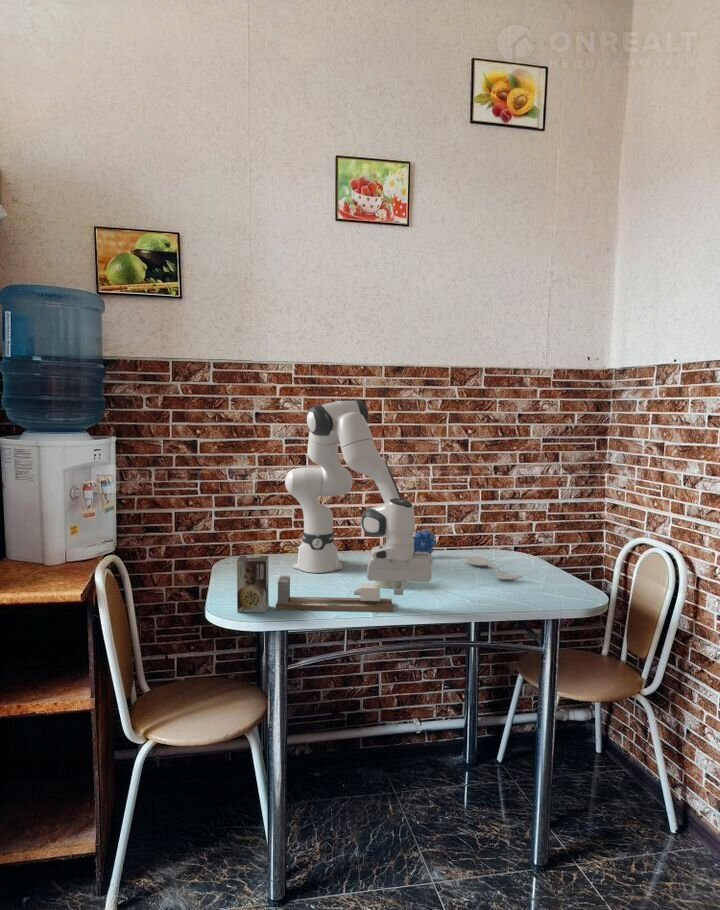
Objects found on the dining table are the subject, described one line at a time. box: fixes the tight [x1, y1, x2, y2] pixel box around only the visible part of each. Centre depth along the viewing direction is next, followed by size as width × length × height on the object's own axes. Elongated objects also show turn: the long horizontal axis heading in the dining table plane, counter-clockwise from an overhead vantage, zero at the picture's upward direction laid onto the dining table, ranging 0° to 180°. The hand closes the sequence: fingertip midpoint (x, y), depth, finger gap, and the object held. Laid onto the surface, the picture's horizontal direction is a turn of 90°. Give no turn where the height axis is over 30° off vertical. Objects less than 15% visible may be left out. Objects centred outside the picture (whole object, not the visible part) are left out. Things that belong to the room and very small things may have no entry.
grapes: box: [413, 529, 437, 555], centre depth 254 cm, size 12×7×12 cm, turn 97°
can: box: [374, 581, 402, 589], centre depth 216 cm, size 9×9×12 cm
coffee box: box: [236, 555, 270, 613], centre depth 188 cm, size 9×6×16 cm
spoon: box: [465, 555, 524, 581], centre depth 236 cm, size 9×32×4 cm, turn 16°
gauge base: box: [275, 575, 394, 613], centre depth 192 cm, size 8×36×8 cm, turn 90°
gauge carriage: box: [353, 582, 381, 604], centre depth 192 cm, size 7×8×4 cm
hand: (398, 594), depth 192 cm, fingers closed
